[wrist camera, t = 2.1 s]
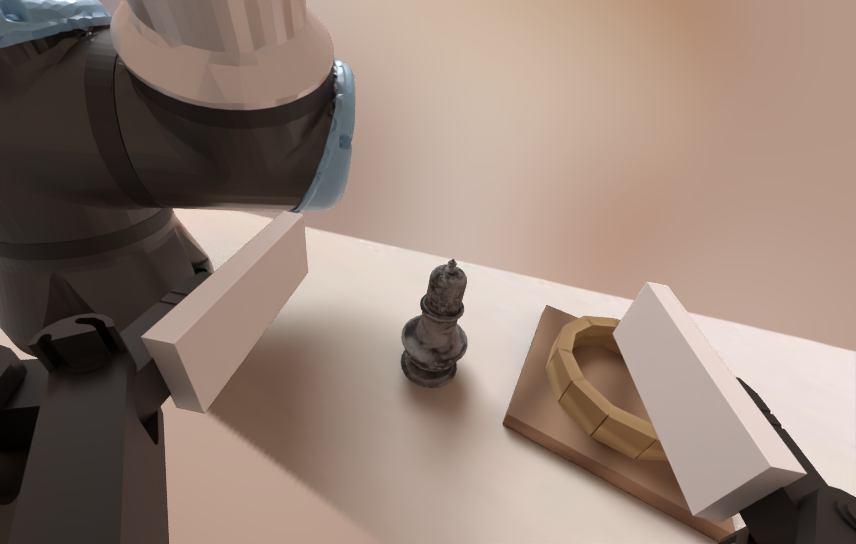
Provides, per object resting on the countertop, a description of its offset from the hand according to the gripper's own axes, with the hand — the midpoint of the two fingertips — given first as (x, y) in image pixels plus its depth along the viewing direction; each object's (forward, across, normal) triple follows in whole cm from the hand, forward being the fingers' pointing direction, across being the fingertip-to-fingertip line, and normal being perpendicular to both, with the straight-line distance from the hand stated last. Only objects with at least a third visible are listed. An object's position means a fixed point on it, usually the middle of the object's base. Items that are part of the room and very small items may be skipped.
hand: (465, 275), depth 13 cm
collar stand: (+10, +17, -18) cm, 27 cm away
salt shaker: (+10, 0, -18) cm, 21 cm away
